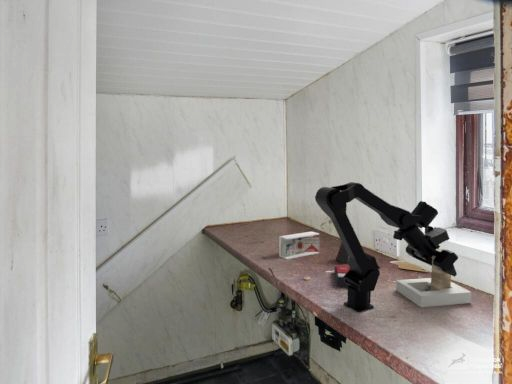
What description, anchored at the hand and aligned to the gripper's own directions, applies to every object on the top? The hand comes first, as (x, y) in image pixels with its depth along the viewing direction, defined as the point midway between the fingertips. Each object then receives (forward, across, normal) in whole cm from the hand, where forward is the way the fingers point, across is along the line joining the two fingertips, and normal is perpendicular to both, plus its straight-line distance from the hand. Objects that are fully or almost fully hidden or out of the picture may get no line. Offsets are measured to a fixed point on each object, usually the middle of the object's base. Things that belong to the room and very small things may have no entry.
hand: (445, 270), depth 115 cm
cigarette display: (-17, +54, +29) cm, 63 cm away
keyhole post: (+5, 0, +7) cm, 8 cm away
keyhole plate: (+3, 0, +9) cm, 9 cm away
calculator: (-10, +19, +23) cm, 31 cm away
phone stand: (-4, +40, +17) cm, 44 cm away
